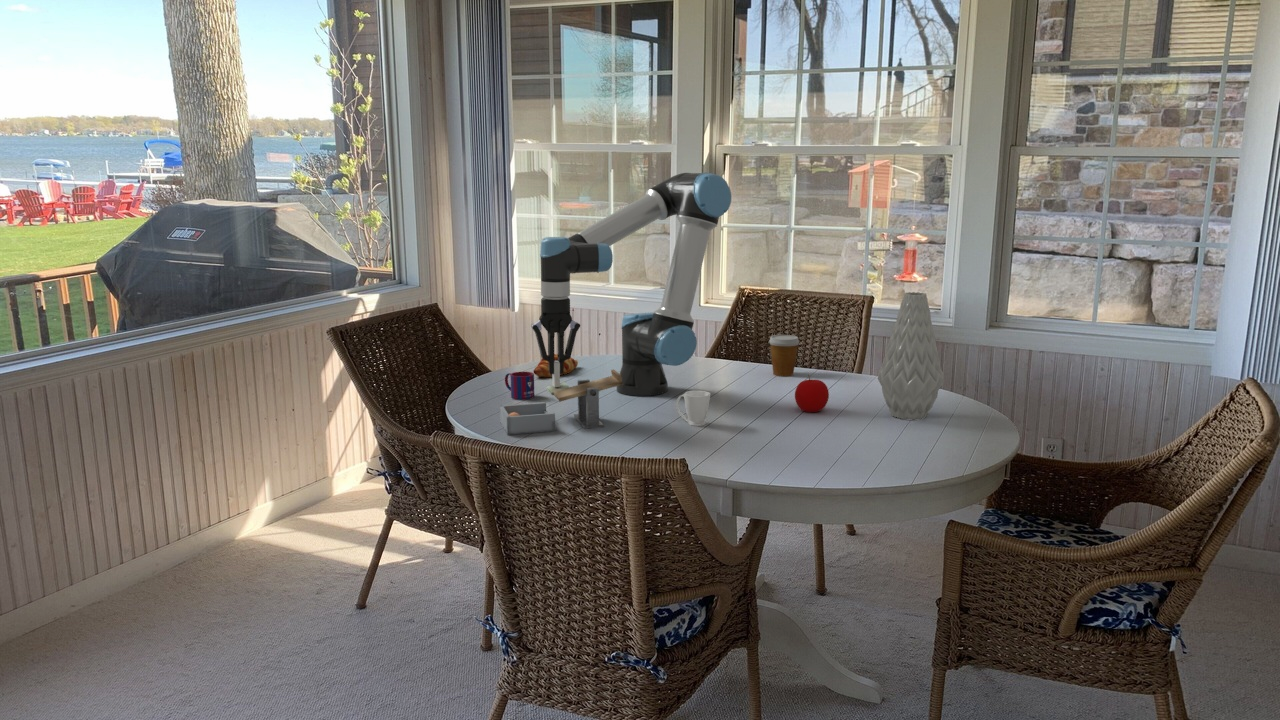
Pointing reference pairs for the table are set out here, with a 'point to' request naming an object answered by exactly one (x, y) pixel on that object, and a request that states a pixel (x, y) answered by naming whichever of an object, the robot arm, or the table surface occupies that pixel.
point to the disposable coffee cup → (783, 354)
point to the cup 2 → (695, 406)
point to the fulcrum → (588, 407)
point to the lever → (584, 387)
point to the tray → (527, 418)
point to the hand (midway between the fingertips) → (556, 385)
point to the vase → (911, 361)
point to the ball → (514, 414)
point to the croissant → (543, 367)
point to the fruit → (811, 395)
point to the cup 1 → (521, 385)
